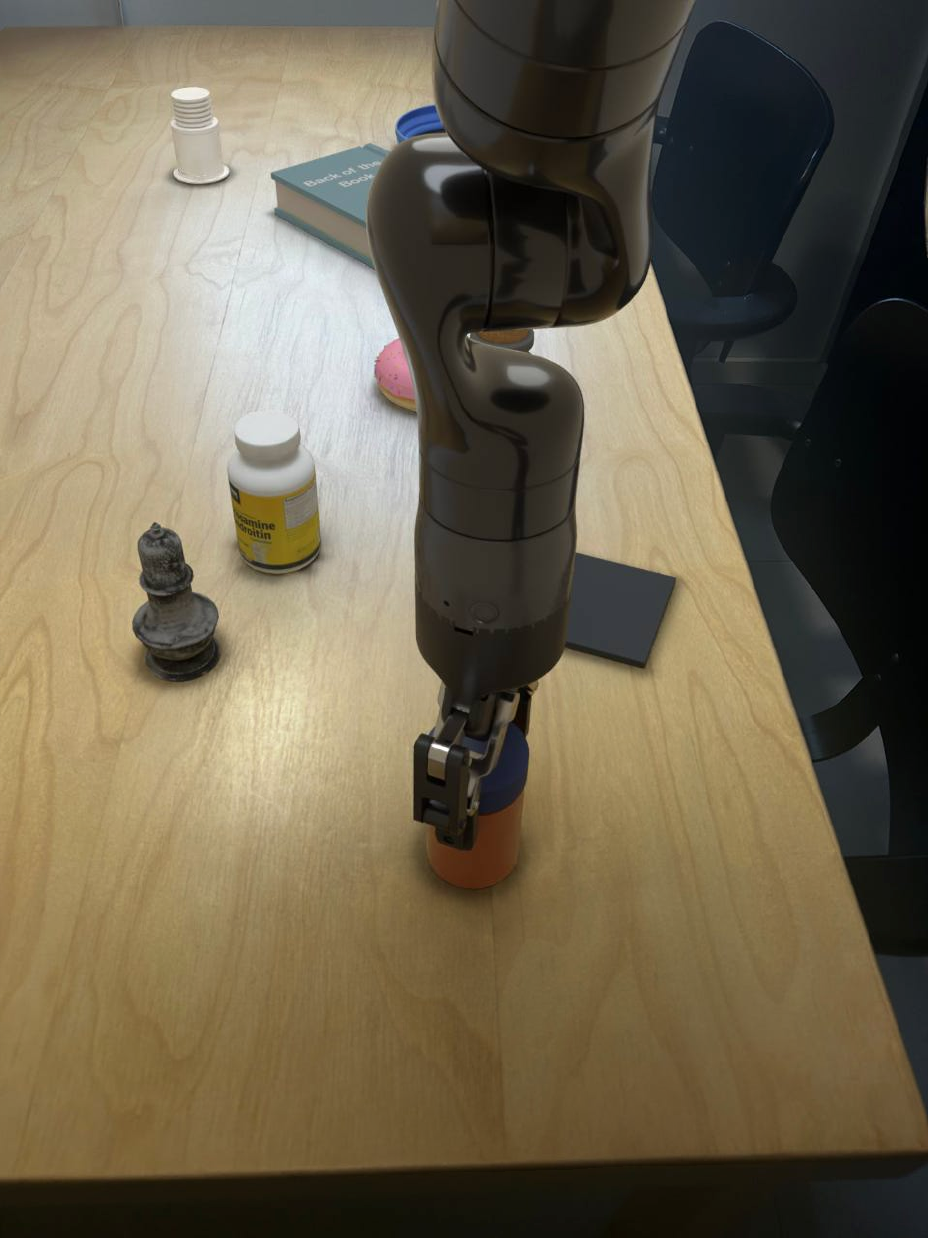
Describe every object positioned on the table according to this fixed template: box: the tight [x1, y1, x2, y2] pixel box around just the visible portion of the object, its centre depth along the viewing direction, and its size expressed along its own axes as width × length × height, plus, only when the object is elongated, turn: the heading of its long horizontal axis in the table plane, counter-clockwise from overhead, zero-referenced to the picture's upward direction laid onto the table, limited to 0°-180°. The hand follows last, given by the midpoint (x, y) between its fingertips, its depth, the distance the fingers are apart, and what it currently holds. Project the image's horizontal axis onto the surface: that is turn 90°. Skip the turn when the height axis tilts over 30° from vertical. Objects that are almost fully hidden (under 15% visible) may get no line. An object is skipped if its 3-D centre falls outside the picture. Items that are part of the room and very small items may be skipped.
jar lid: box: [427, 722, 530, 814], centre depth 61 cm, size 6×6×2 cm
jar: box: [425, 788, 525, 890], centre depth 64 cm, size 6×6×9 cm
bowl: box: [394, 103, 446, 144], centre depth 149 cm, size 18×18×4 cm
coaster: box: [565, 552, 677, 669], centre depth 83 cm, size 10×10×1 cm
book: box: [270, 142, 390, 270], centre depth 131 cm, size 23×16×5 cm
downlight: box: [170, 86, 230, 185], centre depth 139 cm, size 8×7×10 cm
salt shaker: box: [131, 521, 222, 683], centre depth 75 cm, size 6×6×12 cm
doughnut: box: [373, 337, 417, 412], centre depth 104 cm, size 11×11×4 cm
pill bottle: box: [226, 409, 322, 575], centre depth 84 cm, size 6×6×12 cm
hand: (483, 786), depth 63 cm, fingers open, 8 cm apart
